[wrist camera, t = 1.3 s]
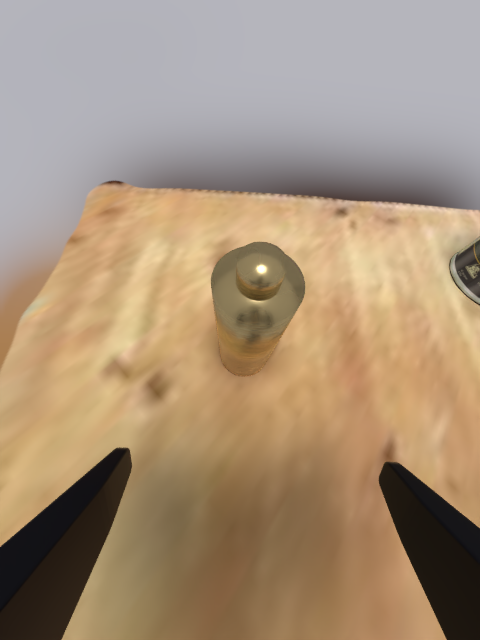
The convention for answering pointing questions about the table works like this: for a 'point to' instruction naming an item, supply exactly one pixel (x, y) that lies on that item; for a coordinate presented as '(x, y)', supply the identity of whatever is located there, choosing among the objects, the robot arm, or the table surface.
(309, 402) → the table surface
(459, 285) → the coffee can
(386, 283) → the table surface
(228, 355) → the brass weight
